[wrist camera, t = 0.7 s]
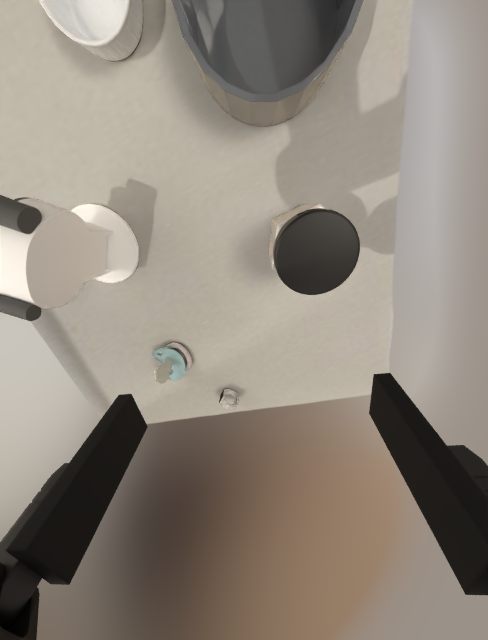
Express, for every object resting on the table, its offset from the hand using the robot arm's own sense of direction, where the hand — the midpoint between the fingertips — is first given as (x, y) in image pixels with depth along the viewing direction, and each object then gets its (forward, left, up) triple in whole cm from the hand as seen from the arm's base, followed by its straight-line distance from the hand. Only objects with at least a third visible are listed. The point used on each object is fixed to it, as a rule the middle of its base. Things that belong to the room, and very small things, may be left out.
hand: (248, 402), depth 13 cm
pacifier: (+11, -19, -26) cm, 34 cm away
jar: (-3, +7, -26) cm, 27 cm away
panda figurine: (-11, -21, -26) cm, 35 cm away
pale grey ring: (+22, -12, -26) cm, 36 cm away
